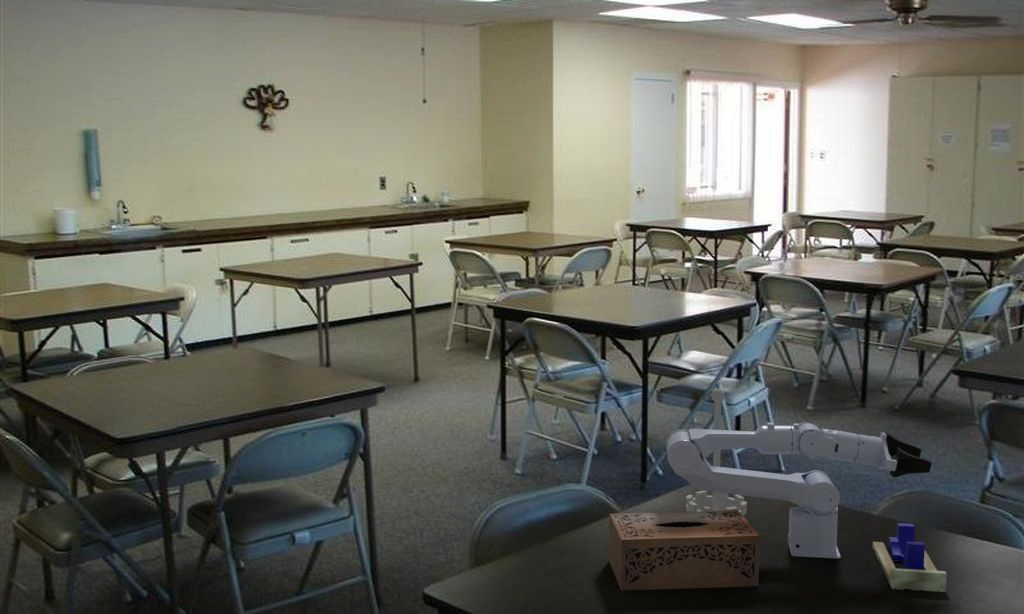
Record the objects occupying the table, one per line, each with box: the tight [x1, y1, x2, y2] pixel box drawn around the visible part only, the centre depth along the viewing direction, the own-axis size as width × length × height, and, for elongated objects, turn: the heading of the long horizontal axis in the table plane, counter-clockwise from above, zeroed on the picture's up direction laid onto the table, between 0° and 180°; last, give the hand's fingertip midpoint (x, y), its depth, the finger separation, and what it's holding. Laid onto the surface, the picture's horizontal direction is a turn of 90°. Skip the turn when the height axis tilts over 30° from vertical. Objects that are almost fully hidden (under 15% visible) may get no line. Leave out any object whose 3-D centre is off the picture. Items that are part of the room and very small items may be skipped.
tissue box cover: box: [608, 510, 761, 592], centre depth 199 cm, size 26×14×10 cm, turn 94°
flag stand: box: [685, 388, 748, 517], centre depth 226 cm, size 13×13×30 cm
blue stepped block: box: [887, 522, 926, 570], centre depth 205 cm, size 12×4×6 cm, turn 169°
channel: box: [872, 541, 948, 593], centre depth 201 cm, size 10×21×4 cm, turn 170°
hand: (925, 460), depth 206 cm, fingers open, 7 cm apart
